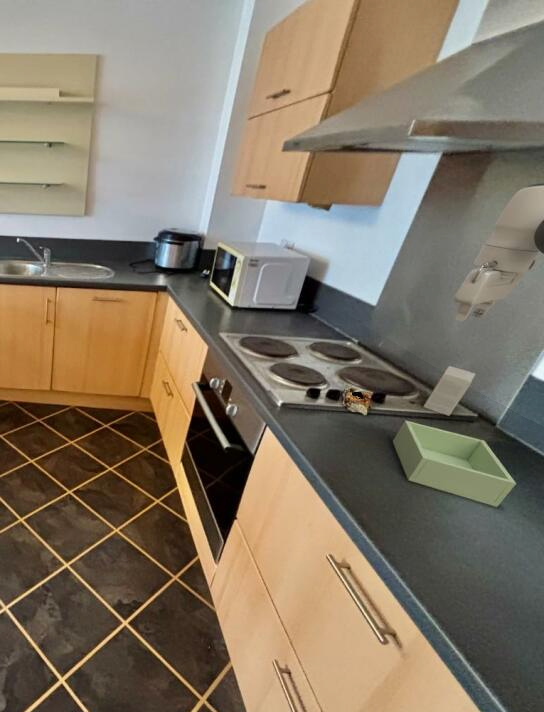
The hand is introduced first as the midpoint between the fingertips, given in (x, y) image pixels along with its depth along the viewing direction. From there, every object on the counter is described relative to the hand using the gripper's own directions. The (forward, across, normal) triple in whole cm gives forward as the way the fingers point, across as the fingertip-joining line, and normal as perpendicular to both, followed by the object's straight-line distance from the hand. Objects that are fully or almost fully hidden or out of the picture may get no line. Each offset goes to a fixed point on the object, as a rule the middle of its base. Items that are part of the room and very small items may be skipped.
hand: (468, 318), depth 101 cm
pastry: (+25, -17, +7) cm, 31 cm away
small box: (+25, +4, -3) cm, 25 cm away
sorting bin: (+25, -30, -17) cm, 43 cm away
